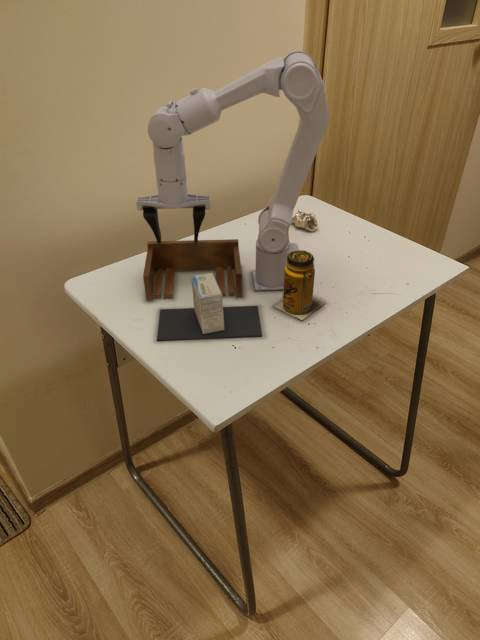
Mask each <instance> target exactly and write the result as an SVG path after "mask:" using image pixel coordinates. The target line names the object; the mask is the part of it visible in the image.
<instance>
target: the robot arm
mask: <svg viewBox="0 0 480 640" xmlns="http://www.w3.org/2000/svg"><path fill="white" fill-rule="evenodd" d="M280 91H282V93H283V95H284V96H285V97H286V99H287V100H288V101H289V102H290V103H291V104H292V105H293V106H294V107H295V108H296V111H297V113H298V115H299V117H300V121H299V125H298V127H297V129H296V132H295V135H294V137H293V140H292V143H291V146H290V149H289V152H288V154H287V156H286V159H285V162H284V165H283V168H282V170H281V173H280V175H279V178H278V181H277V184H276V187H275V190H274V192H273V195H272V196H271V197H270V199H269V201H268V203H267V206H266V207H265V208H264V209H262V211H261V212H260V213H259V215H258V219H257V223H258V234H257V239H256V241H255V269H254V270H252V279H253V285H254V286H253V287H254V290H255V291H280V290H281V291H282V290H283V291H284V273H285V267H286V266H287V256H288V254H289V253H291V252H293V251H298V250H299V251H300V247H299V244H298V243H295V242H290V235H289V230H290V228H291V226H292V222H291V221H292V218H293V217H294V216H293V215H294V210H295V207H296V205H297V203H298V201H299V197H300V195H301V192H302V190H303V188H304V185H305V184H306V183H305V182H306V180H307V177H308V175H309V172H310V170H311V168H312V165H313V162H314V160H315V157H316V155H317V152H318V151H319V147H320V146H321V142H322V140H323V138H324V135H325V133H326V130H327V128H328V125H329V122H330V112H329V106H328V99H327V95H326V89H325V83H324V81H323V79H322V76H321V72H320V71H319V69H318V67H317V65H316V63H315V61H314V59H313V58H312V56H311V55H310V54H309V53H307V52H305V51H303V50H294V51H291V52H290V53H288V54H287V55H285V57H284V56H283V55H282V56H279V57H275V58H273V59H271V60H269V61H267V62H266V63H263V64H261V65H260V66H257V67H256V68H254V69H252V70H250V71H249V72H247V73H245V74H243V75H241V76H239V77H238V78H236V79H234V80H232V81H230V82H229V83H227V84H225V85H224V86H222V87H220V88H218V89H216V90H212V89H210V88H207V87H202V88H200V89H199V88H198V86H195V87H193V88H192V89H190V90H189V93H190V94H187V96H184V97H183V98H180V99H178V100H176V101H174V102H173V100H170V101H168V102H167V103H166V105H165V106H161V107H158V108H157V109H156V110H155V111H154V113H153V114H152V116H151V118H150V119H149V121H148V124H147V134H148V137H149V139H150V140H151V141H152V148H153V161H154V169H155V171H154V172H155V179H156V186H157V193H158V194H156V195H155V194H154V195H149V196H139V197H138V196H137V197H136V200H135V205H136V210H137V211H142V217H143V219H144V220H145V222H146V223H147V224H148V225H149V228H150V229H151V231H152V232H153V235H154V237H155V241H157V243H158V244H160V243H161V241H162V233H161V228H160V222H159V212H158V210H164V209H166V210H167V209H169V210H176V209H192V219H193V230H194V231H193V233H194V234H193V240H194V243H197V242H198V240H199V233H200V229H201V226H202V224H203V221H204V220H205V217H206V210H211V207H212V206H211V205H212V204H211V196H210V195H196V194H189V193H188V181H187V170H186V159H185V158H186V157H185V151H184V146H183V144H184V143H183V137H184V136H190V135H192V134H194V133H197V132H199V131H200V130H202V129H205V128H207V127H209V126H210V125H214V123H218V122H219V121H220V118H221V115H222V112H223V111H224V110H226V109H228V108H231V107H233V106H235V105H238V104H240V103H242V102H244V101H247V100H250V99H251V98H254V97H256V96H259V95H261V94H265V95H269V96H273V97H276V98H280V97H281V96H280Z"/></svg>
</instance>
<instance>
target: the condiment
mask: <svg viewBox="0 0 480 640" xmlns="http://www.w3.org/2000/svg"><path fill="white" fill-rule="evenodd" d="M314 262H315V256H314V255H313V254H312V253H311V252H309V251H306V250H300V249H299V250H298V251H293V252H291V253H289V254H288V256H287V266H286V267H285V273H284V290H283V293H282V294H283V295H282V297H283V298H282V301H280V302H279V303H278V304H276V305H275V306H274V308H276V309H278V310H280V311H281V312H283V313H285V314H287V315H289V316H292V317H293V318H296V319H298V320H300V321H303V320H304V319H306V318H308V317H309V316H311V315H312V314H313V313H314V312H316V311H317V310H318V309H320V308H321V307H322V306H324V305H325V304H326V303H327V302H326V301H323V300H320V299H318V298H316V297H314V287H315V276H316V268H315V263H314Z"/></svg>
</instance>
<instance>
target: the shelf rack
mask: <svg viewBox="0 0 480 640" xmlns="http://www.w3.org/2000/svg"><path fill="white" fill-rule="evenodd" d="M146 246H147V250H146V257H145V262H144V263H145V264H144V268H143V273H142V274H143V275H142V278H143V284H144V285H143V286H144V292H145V296H146V301H147V302H152V301H154V299H157V300H158V299H159V300H160V299H161V297H162V289H163V299H173V298H174V297H173V296H174V286H175V285H174V283H175V273H176V272H185V271H189V272H190V271H215V279H216V281H217V284H218V286H219V288H220V290H221V293H222V297H226V282H225V270H226V276H227V277H226V279H227V289H228V290H227V291H228V297H234V296H235V295H236V297H235V298H237V299H238V298H243V271H242V263H241V253H240V246H239V239H238V238H237V239H235V238H233V239H198V242H197V243H194V239H193V240H190V239H189V240H161V243H160V244H158V243H157V240H153V241H149V240H148V241H147V242H146ZM164 272H165V277H164ZM163 278H164V280H163ZM163 281H164V286H163Z"/></svg>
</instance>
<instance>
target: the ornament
mask: <svg viewBox="0 0 480 640" xmlns="http://www.w3.org/2000/svg"><path fill="white" fill-rule="evenodd" d="M291 224H294V226H296V227H297V228H303V229H305V230H306V231H309V232H314V231H316V230H317V228H318V225H319V224H318V220H317V217H316V213H314V212H310V213H308V212H307V213H306V212H304V211H302V210H300V209H298V210H297V212H295V215H294V216H292V221H291ZM309 224H310V225H309ZM308 225H309V226H308Z"/></svg>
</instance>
